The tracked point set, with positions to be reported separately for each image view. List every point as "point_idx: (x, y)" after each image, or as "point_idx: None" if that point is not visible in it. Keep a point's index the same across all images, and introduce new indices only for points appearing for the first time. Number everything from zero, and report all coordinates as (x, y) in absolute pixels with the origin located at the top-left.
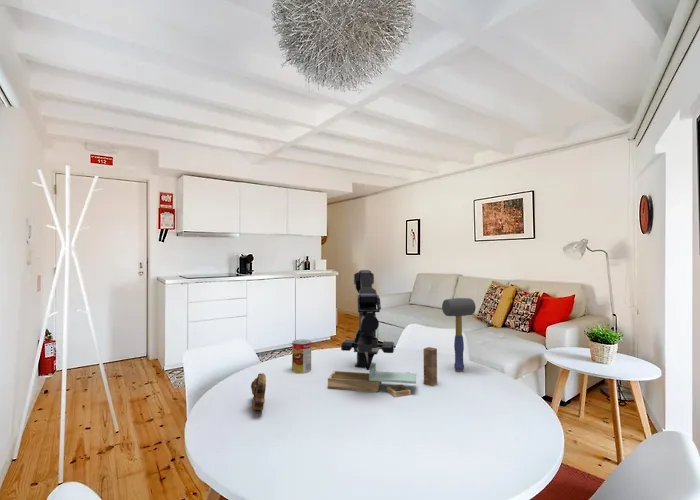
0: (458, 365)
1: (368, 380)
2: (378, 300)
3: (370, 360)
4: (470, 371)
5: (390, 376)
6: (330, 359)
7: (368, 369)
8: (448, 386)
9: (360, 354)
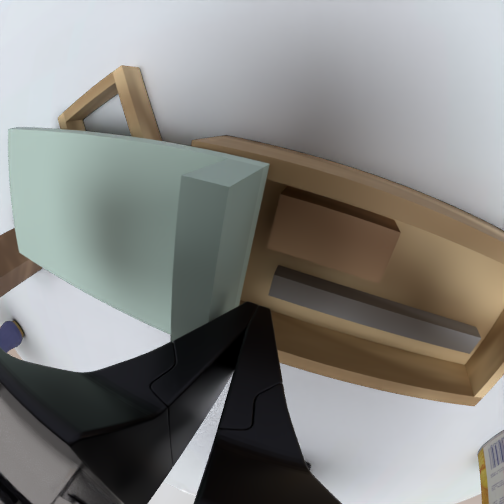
0: (5, 330)
1: (275, 285)
2: None
3: (166, 356)
4: (6, 316)
5: (95, 212)
6: (375, 498)
7: (247, 305)
8: (5, 218)
9: (330, 498)
